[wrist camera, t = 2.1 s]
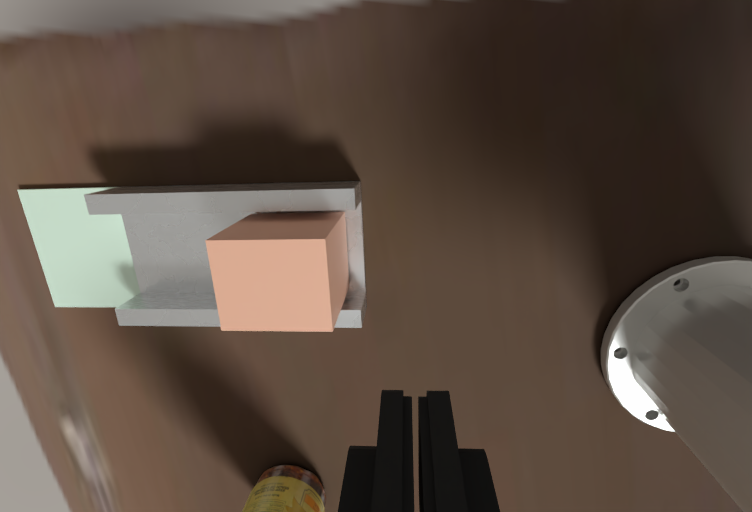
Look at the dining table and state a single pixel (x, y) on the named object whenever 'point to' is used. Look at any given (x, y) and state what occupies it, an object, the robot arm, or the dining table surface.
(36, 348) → the dining table surface
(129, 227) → the chute
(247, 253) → the block
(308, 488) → the sauce bottle
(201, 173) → the dining table surface
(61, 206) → the pad
